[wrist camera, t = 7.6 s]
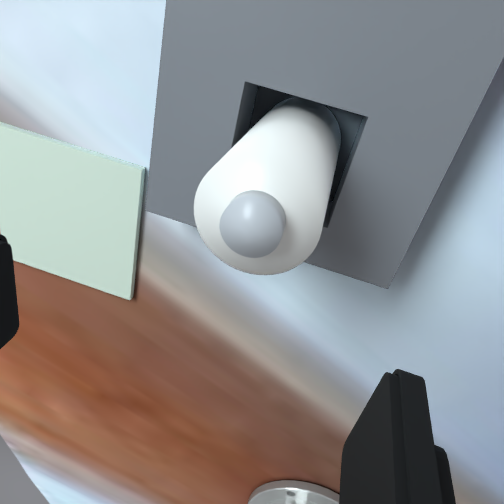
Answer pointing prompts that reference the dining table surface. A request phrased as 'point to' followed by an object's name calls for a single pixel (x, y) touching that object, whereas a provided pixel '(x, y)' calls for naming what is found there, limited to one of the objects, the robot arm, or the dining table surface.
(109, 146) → the dining table surface
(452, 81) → the housing
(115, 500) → the dining table surface
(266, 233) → the cylinder
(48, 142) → the mat
